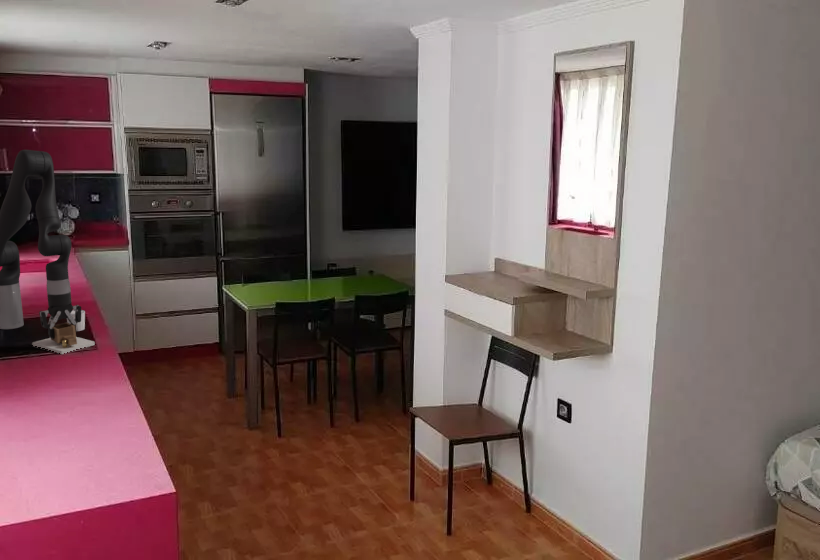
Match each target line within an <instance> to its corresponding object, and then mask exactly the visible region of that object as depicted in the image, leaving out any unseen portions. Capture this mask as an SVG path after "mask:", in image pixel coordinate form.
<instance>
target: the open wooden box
mask: <svg viewBox="0 0 820 560" xmlns="http://www.w3.org/2000/svg"><path fill="white" fill-rule="evenodd" d="M53 329H54V334H55V339H52V338H51V337H50V338H51V340H53V341H55V342H56V343H62V340H67V344H68V345H75V344H77V339H76V337H77V334H76V333H77V331H75V326H74V325H72V324H70V323H68V322H67V321H66V322H64V323H63V322H62V323H57V324H55V325H54V327H53Z"/></svg>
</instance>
